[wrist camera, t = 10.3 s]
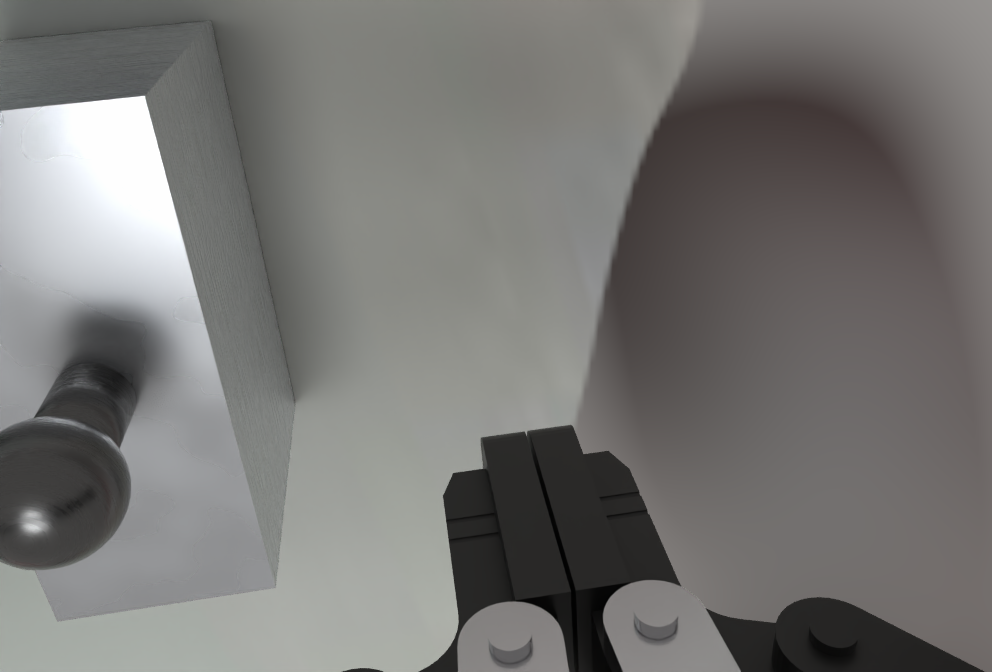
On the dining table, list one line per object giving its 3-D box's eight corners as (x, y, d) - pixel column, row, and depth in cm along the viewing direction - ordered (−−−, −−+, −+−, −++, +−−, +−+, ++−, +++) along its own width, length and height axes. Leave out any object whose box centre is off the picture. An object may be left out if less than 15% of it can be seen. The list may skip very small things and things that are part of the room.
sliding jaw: (113, 428, 27) (-43, 800, 16) (-21, 42, 21) (-396, 227, 11) (295, 403, 28) (258, 749, 17) (210, 20, 22) (74, 175, 11)
